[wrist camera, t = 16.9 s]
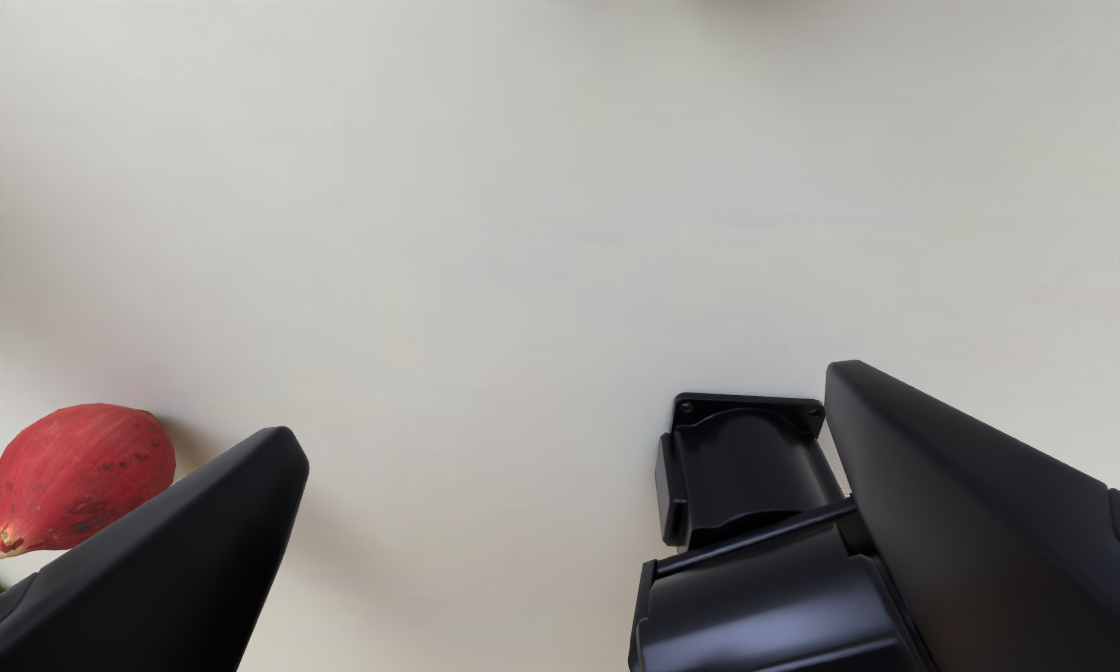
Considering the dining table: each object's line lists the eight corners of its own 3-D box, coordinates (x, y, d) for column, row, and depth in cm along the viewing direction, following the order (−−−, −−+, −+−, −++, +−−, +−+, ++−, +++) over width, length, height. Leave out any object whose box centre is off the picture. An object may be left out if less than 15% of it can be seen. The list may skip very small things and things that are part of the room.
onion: (207, 387, 26) (67, 525, 19) (214, 472, 29) (94, 617, 22) (78, 354, 25) (-113, 485, 19) (98, 444, 28) (-61, 585, 22)
